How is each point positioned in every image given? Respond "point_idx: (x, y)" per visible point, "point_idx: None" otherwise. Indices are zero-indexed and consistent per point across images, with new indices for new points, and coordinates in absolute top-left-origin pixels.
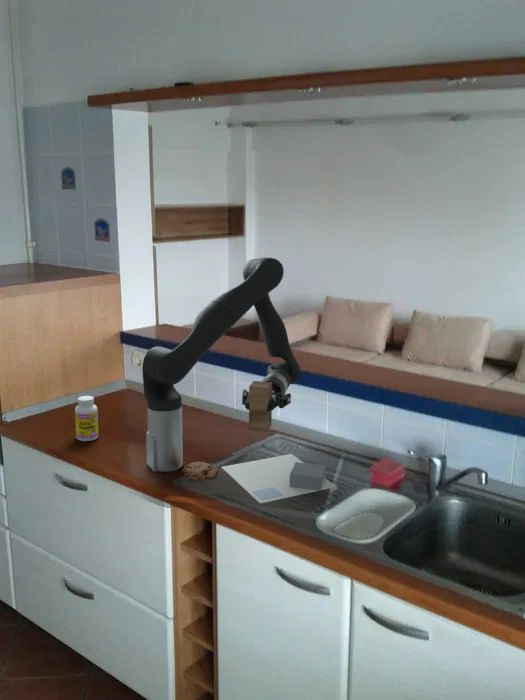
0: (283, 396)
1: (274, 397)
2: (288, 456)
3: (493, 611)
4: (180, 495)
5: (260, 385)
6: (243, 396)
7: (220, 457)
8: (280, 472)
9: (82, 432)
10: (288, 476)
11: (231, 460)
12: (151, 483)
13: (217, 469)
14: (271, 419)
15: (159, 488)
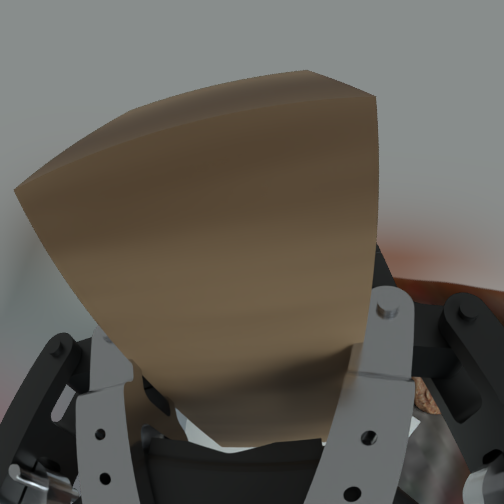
0: (27, 416)
1: (101, 375)
2: None
3: None
4: (416, 281)
5: (195, 93)
6: (461, 294)
7: (459, 498)
8: (227, 452)
9: None
10: (200, 432)
11: (419, 501)
12: (491, 293)
13: (415, 389)
14: (209, 435)
15: (466, 285)
